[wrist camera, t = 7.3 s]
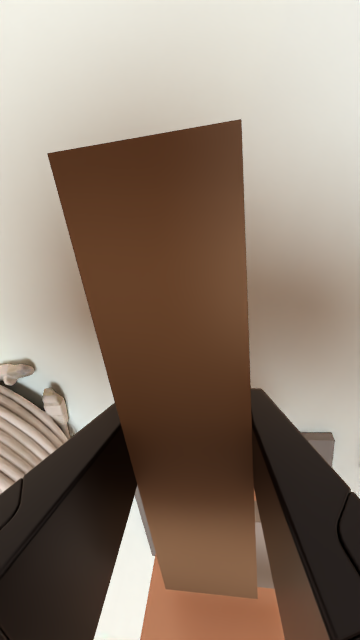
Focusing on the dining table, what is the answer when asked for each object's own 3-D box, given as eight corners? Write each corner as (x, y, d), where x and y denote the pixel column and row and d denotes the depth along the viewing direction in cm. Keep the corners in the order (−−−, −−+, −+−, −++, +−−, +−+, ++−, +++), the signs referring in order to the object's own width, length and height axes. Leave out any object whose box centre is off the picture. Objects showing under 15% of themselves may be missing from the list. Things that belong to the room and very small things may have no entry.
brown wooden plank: (73, 172, 7) (-17, 164, 4) (285, 138, 6) (331, 103, 4) (167, 557, 14) (154, 647, 11) (278, 566, 13) (292, 667, 10)
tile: (275, 464, 19) (313, 667, 11) (275, 483, 20) (311, 685, 12) (172, 462, 20) (139, 644, 12) (175, 479, 21) (147, 662, 13)
